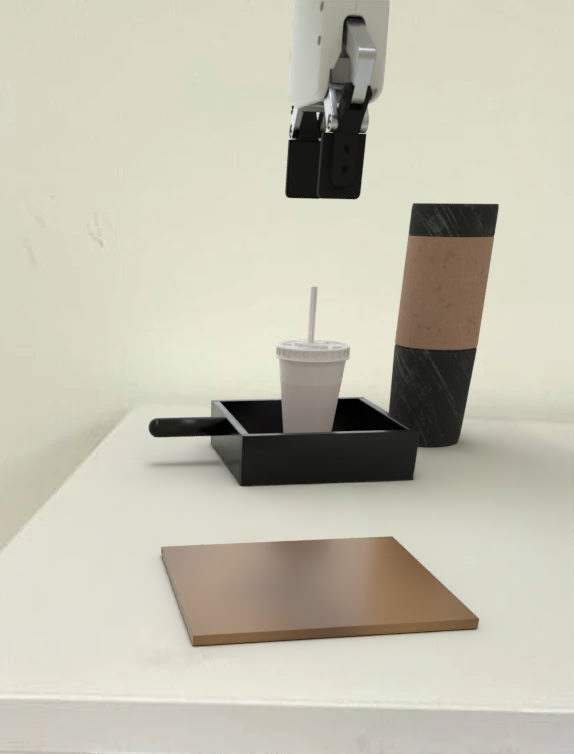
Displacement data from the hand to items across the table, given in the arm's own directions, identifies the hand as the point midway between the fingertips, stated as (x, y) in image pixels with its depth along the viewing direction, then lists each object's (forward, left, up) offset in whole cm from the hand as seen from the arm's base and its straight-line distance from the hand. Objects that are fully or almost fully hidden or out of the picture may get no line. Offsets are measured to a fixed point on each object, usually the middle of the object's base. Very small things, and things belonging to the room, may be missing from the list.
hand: (320, 198), depth 68 cm
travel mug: (-14, -7, -20) cm, 26 cm away
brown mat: (+8, +30, -20) cm, 37 cm away
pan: (+3, 0, -20) cm, 20 cm away
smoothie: (0, 0, -20) cm, 20 cm away
